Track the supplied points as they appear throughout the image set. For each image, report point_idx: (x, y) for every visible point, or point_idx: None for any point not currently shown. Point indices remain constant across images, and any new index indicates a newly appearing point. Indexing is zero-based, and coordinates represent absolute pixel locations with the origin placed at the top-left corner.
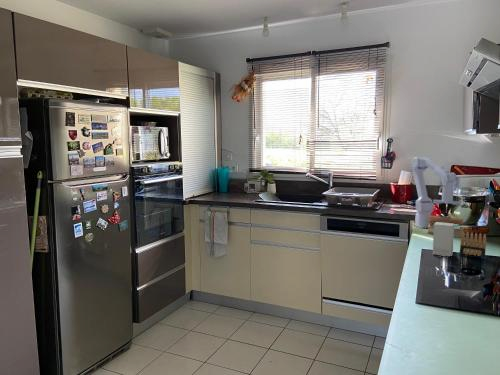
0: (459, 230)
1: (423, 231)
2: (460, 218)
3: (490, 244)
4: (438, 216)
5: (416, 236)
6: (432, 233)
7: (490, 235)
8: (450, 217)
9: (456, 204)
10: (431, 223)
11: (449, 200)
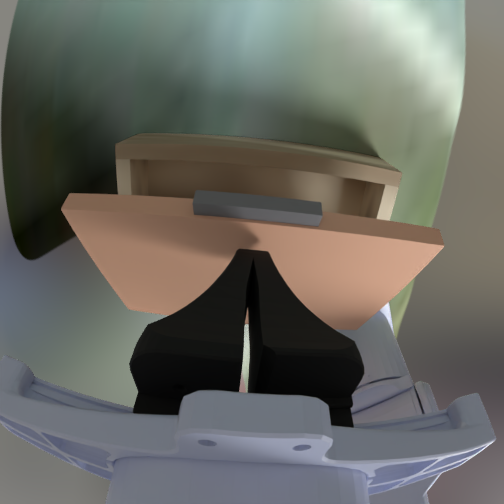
0: (141, 142)
1: (394, 209)
2: (88, 208)
3: (23, 33)
4: (351, 230)
5: (456, 49)
6: (349, 152)
7: (28, 250)
8: (198, 200)
9: (65, 396)
10: None
11: (168, 497)
